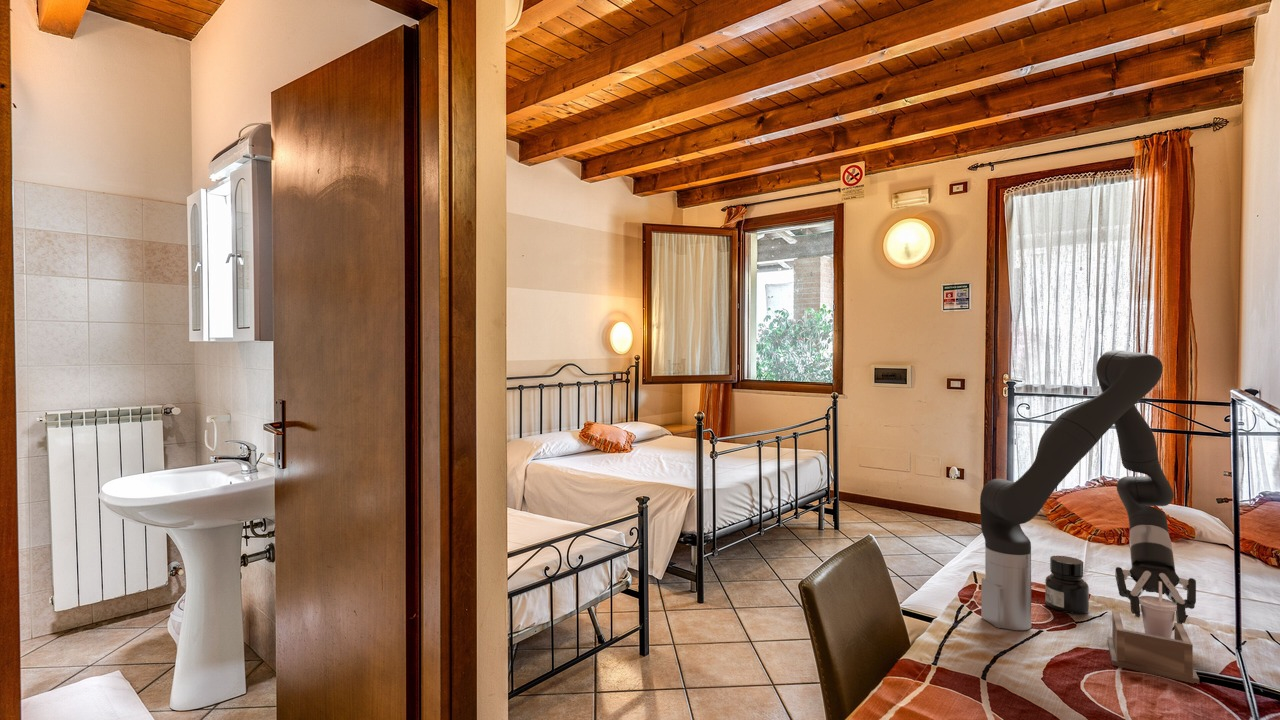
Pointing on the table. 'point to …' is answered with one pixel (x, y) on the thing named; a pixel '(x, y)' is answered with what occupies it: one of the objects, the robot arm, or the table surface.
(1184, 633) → the bottle stand
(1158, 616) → the smoothie
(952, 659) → the table surface
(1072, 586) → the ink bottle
